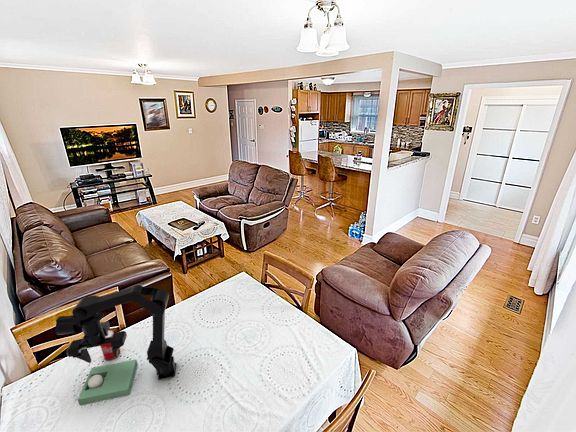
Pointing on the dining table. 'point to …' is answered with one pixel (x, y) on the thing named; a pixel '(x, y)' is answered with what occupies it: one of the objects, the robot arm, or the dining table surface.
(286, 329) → the dining table surface
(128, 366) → the green shape sorter board
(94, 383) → the ball
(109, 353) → the beverage can
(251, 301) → the dining table surface
